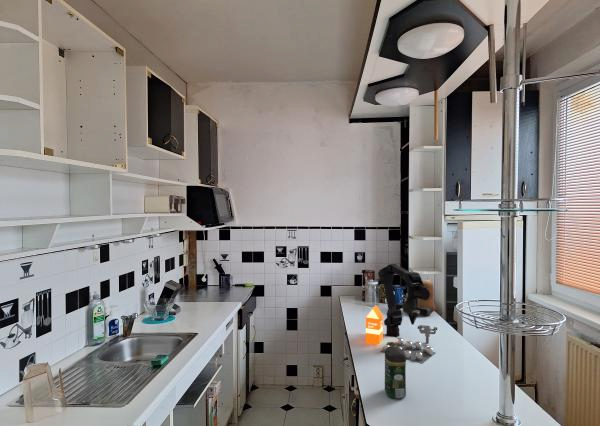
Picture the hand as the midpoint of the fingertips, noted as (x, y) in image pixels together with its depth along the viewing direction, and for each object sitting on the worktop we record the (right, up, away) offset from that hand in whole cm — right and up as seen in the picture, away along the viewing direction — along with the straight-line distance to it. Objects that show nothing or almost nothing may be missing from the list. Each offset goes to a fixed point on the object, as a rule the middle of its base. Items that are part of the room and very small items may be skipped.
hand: (412, 324), depth 207 cm
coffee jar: (-23, -14, -52) cm, 58 cm away
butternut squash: (+26, -11, +57) cm, 64 cm away
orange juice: (-20, -12, +7) cm, 24 cm away
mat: (-5, -12, -10) cm, 16 cm away
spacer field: (-5, -12, -10) cm, 16 cm away
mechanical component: (+9, -12, +3) cm, 15 cm away
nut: (-13, -12, -4) cm, 18 cm away
